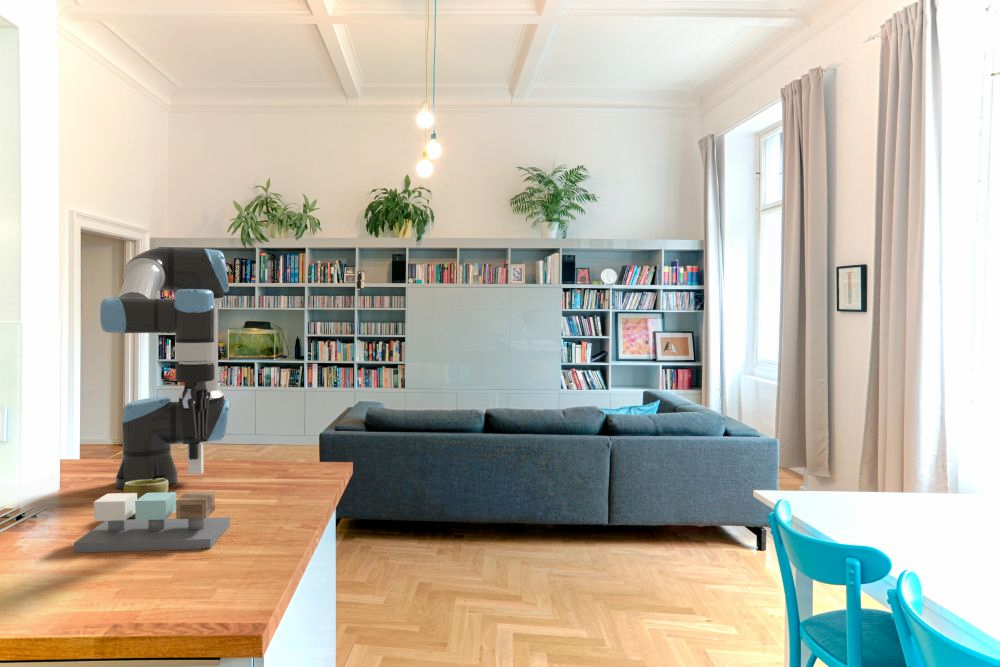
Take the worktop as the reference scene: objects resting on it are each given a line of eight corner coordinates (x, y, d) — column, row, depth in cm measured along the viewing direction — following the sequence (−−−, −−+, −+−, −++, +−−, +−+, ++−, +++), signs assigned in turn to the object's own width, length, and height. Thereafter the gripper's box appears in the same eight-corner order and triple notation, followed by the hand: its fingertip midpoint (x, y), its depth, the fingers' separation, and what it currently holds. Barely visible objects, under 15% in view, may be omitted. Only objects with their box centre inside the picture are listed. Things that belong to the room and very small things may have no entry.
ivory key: (107, 512, 143) (107, 493, 143) (137, 511, 144) (137, 492, 144) (94, 521, 137) (93, 501, 137) (125, 520, 138) (124, 501, 138)
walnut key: (186, 510, 145) (185, 492, 145) (214, 509, 146) (214, 491, 146) (176, 519, 139) (176, 500, 139) (206, 518, 140) (206, 499, 140)
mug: (151, 516, 150) (146, 472, 152) (114, 527, 152) (109, 483, 154) (190, 511, 162) (184, 470, 164) (154, 521, 164) (149, 480, 166)
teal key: (147, 511, 144) (146, 492, 144) (176, 510, 145) (176, 492, 145) (135, 520, 138) (135, 500, 138) (166, 519, 139) (165, 500, 139)
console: (106, 529, 147) (106, 505, 147) (229, 525, 150) (229, 503, 150) (74, 552, 133) (73, 526, 133) (210, 548, 136) (210, 523, 136)
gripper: (187, 360, 147) (187, 466, 148) (164, 364, 134) (165, 481, 135) (222, 360, 148) (223, 466, 149) (203, 364, 135) (204, 480, 136)
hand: (195, 473), depth 142 cm, fingers closed
